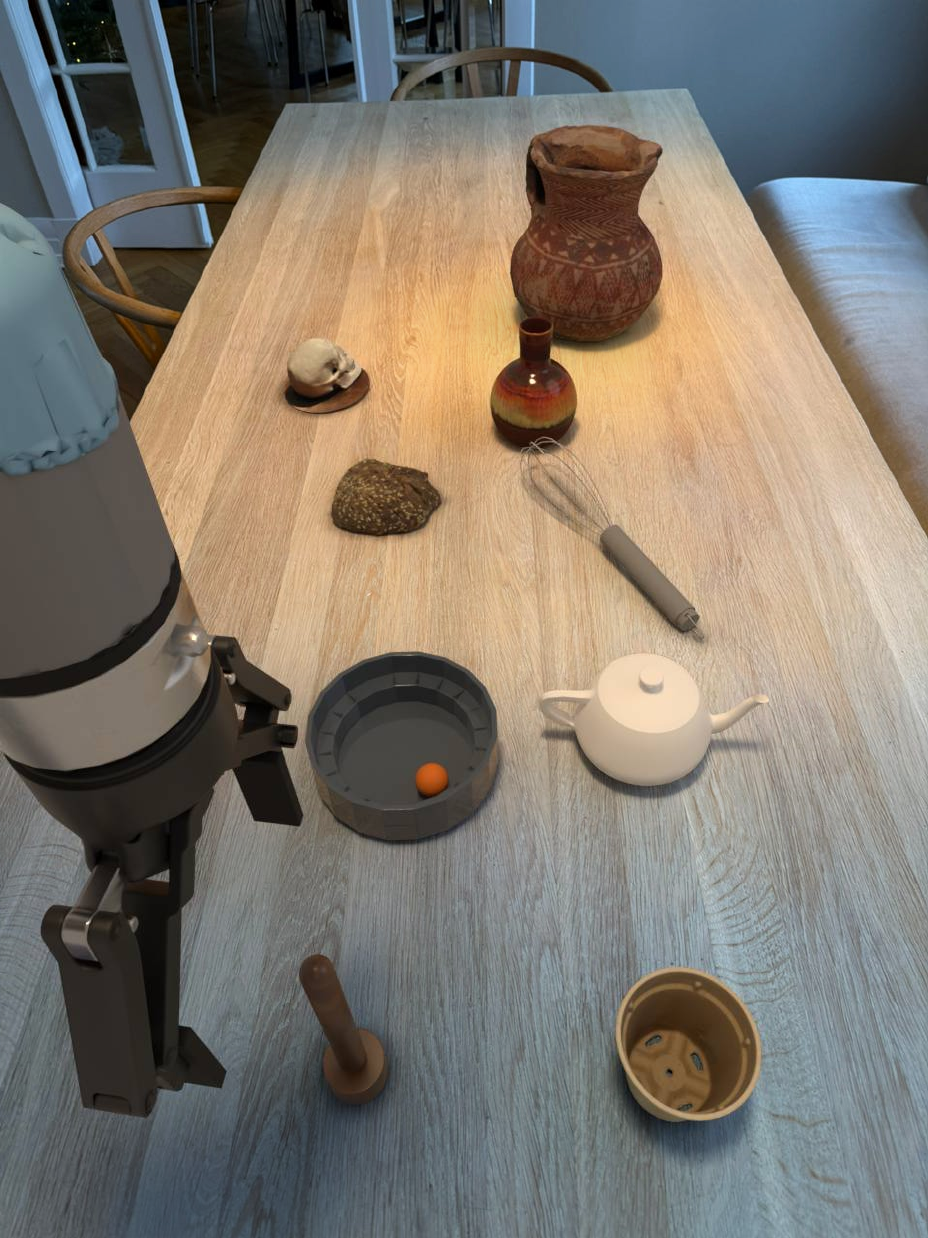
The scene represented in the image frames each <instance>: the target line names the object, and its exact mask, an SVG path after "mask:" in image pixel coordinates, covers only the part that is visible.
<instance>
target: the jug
mask: <svg viewBox="0 0 928 1238" xmlns="http://www.w3.org/2000/svg"><path fill="white" fill-rule="evenodd" d="M663 151H664V149H663V147H662V146H661V144H659V143H658V142H654V141H651V140H647V139H643V138H639V137H638V136H637V135H635V134H633V133H631V132H629V131H627V130H625V129H622V128H620V127H615V126H606V125H592V124H585V125H579V126H577V125H564V126H559V127H556V128H553V129H550V130H548V131H546V132H545V131H544V132H543V133H539V134H535V135H534V136H533V137H532V139H531V140H530V142H529V145H528V147H527V153H526V155H525V156H526V157H525V158H526V159H525V183H526V184H525V194H526V198H527V201H528V204H529V206H530V211H531V212H530V220H529V224H528V226H527V227H526V229H525V231H524V232H523V233H522V234H521V236H520V237H519V238H518V239H517V241H516V243H515V245H514V247H513V249H512V253H511V257H510V265H509V267H510V268H509V275H510V280H511V285H512V290H513V295H514V298H515V299H516V301H517V302H518V305H519V306H520V308H521V310H522V311H523V312H524V315H526V316H527V317H526V318H528V317H544V318H547V319H549V320H550V321H551V322H552V323H553V334H552V337H556V338H561V339H565V340H571V341H575V342H596V341H597V342H598V341H604V340H607V339H611V338H614V337H616V336H617V335H621V334H622V333H624V332H625V331H627V330H628V329H629V328H630V327H632V326H633V325H634V324H635V323H636V322H637V321H638V320H639V319H640V318H642V316H643V315H644V313H645V312H646V311H647V310H648V309H649V307H650V306H651V304H653V301H655V300H654V299H655V298H656V296H657V295H658V292H659V291H660V286H661V284H662V280H663V274H664V273H663V272H664V271H663V260H662V255H661V252H660V249H659V246H658V243H657V241H656V238H655V236H654V234H653V233H652V232H651V230H650V228H649V227H648V226H647V225H646V224H645V222H644V221H643V220H642V218H641V217H640V215H639V205H640V201H641V197H642V194H643V191H644V189H645V187H646V185H647V183H648V182H649V180H650V178H651V177H652V176H653V174H654V173H655V171H656V170H657V168H658V165H659V163H658V161H659V160H660V157H661V156H662V155H663V153H664V152H663Z"/></svg>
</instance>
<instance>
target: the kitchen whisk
mask: <svg viewBox="0 0 928 1238" xmlns="http://www.w3.org/2000/svg"><path fill="white" fill-rule="evenodd" d="M542 438H547V437H542ZM542 438H539V439H537V440H540V439H542ZM547 439H551V438H547ZM537 440H536V441H535V443H536V442H537ZM551 440H552V441H546V442H540V443H547V442H553V441H554V440H553V439H551ZM531 443H532V444H533V446H531ZM535 443H533V442H530V446H531V447H526V448H521V450H520V452H519V453H520V454H519V455H520V457H521V459H520V462H519V468H520V474H521V476H522V478H523V479H524V482H525V483H526V484H527V485H528V487H529V488H530V489H531V490H532V491H533V492H534V493H535V494H536V495H537V496H538V497H539V498H541V500H543V501H544V502H545V503H547V504H548V505H549V506H550V507H552V508H553V509H555V510H556V511H557V512H559V513H560V514H562V515H563V516H565V517H566V518H568V519H570V520H571V521H573V522H574V523H576V524H577V525H579V526H581V527H583V528H585V529H587V530H589V532H593V533H594V534H596V535H598V536H599V541H600V543H601V544H602V545H603V546H604V547H605V548H606V550H607V551H608V552H609V553H610V554H611V555H612V556H613V558H615V560H616V561H617V562H618V563H619V565H620V566H621V567H622V568H623V569H624V570H625V571H626V572H627V573H628V574H629V575H630V576H631V578H632V579H634V581H635V582H636V583H637V584H638V586H640V587H641V588H642V590H643V591H644V592H645V593H646V594H647V595H648V597H649V598H650V599H651V600H652V601H653V602H654V603H655V605H657V607H658V608H659V609H660V610H661V611H662V612H663V613H664V614H665V616H667V618H668V619H669V620H670V622H672V623H673V625H675V626H676V627H678V628H680V629H681V631H685V632H686V631H688V630H690V629H691V630H692V631H693V632H694V633H695V634H697V636H699V638H701V639H702V640H704V639H705V635H704V633H703V631H702V630H701V629H700V627H699V626H698V625H697V624H698V622H699V620H700V618H701V617H700V615H699V614H698V612H697V611H696V607H695V606H694V605H693V604H692V603H691V602H690V601H689V600H688V599H687V598H686V597H685V595H684V594H683V593H681V591H680V590H679V589H678V588H677V587H676V586H675V585H674V583H673V582H671V581H670V580H669V579H668V577H667V576H666V575H665V574H664V573H663V572H662V571H661V570H660V569H659V568H658V567H657V566H656V564H655V563H654V562H653V561H652V560H651V559H650V558H649V557H648V556H647V555H646V554H645V553H644V551H642V550H641V548H640V547H639V546H638V545H637V544H636V543H635V542H634V541H633V540H632V539H631V537H630V536H629V535H628V534H627V533H626V532H625V531H624V530H623V529H622V528H621V526H619V525H618V524H614V523H613V520H612V517H611V516H610V513H609V510H608V508H607V505H606V504H605V502H604V499H603V497H602V495H601V493H600V491H599V489H598V486H597V485H596V484H595V481H594V480H593V478H592V477H591V475H590V473H589V472H588V470H587V468H586V467H585V466H584V464H583V463H582V462H581V460H580V458H578V457H577V456H576V455H575V454H574V453H573V452H572V451H571V450H570V449H569V448H567V447H566V446H564V445H563V444H562V443H559V442H556V441H554V442H553V443H555V444H556V445H558V446H559V447H560V448H561V449H562V451H564V453H566V454H567V456H568V457H569V458H570V459H571V461H572V462H573V464H574V465H575V467H576V468H577V469H578V471H579V472H580V474H581V475H582V477H583V479H584V480H585V482H586V484H587V486H588V487H589V489H590V490H589V489H588V487H587V486H586V485H585V482H583V480H582V479H581V478H580V477H579V476H578V475H577V474H576V472H575V471H574V470H573V469H572V468H571V467H570V465H568V464H567V463H566V462H565V461H563V460H562V459H561V458H560V457H559V456H557V455H556V454H554V453H552V452H551V451H549V450H547V449H545V448H539V447H538V446H537V445H538V444H540V443H538V444H536V445H535ZM555 444H554V445H555ZM534 446H536V447H537V448H536V447H534ZM527 448H529V449H527ZM532 448H536V449H535V450H539V451H540V452H541V453H542V455H544V456H545V457H546V459H547V460H548V461H549V462H550V463H551V464H552V465H553V466H554V467H555V469H556V470H557V471H558V472H559V473H560V475H561V476H562V477H563V478H564V479H565V481H566V482H567V483H568V484H569V485H570V486H571V488H572V489H573V490H574V491H575V493H577V495H578V496H579V497H580V499H582V501H583V502H584V503H585V504H586V506H587V507H588V508H589V510H590V511H591V512H592V513H593V514H594V516H595V517H596V518H597V519H598V521H599V522H600V523H601V524H602V526H603V527H604V528H605V529H603V528H602V527H601V526H600V525H599V524H598V523H597V522H596V521H595V520H594V519H593V518H592V517H591V516H590V515H588V513H587V512H585V511H584V510H583V509H582V507H580V506H579V504H577V502H575V500H574V499H573V498H572V497H571V496H570V495H568V493H567V492H566V491H565V490H564V489H563V488H562V487H561V486H560V484H559V483H558V482H557V481H556V480H555V479H554V478H553V477H552V475H551V474H550V472H548V470H547V468H546V467H545V466H544V465H543V464H542V462H541V461H540V459H539V458H538V456H537V455H536V453H535V451H534V449H532ZM526 449H527V450H526ZM524 450H526V452H524V453H523V454H522V452H523V451H524ZM567 451H568V452H570V454H571V455H572V456H573V457H574V458H575V459H576V460H577V461H578V462H579V464H580V465H581V467H582V468H583V469H584V471H585V472H586V474H587V475H588V478H589V479H590V480H591V482H592V484H593V486H594V488H595V490H596V491H597V493H598V496H599V498H600V500H601V502H602V504H603V506H604V509H605V510H604V509H603V506H602V505H601V502H600V501H599V498H598V497H597V495H596V493H595V492H594V489H593V488H592V486H591V485H590V483H589V481H588V480H587V478H586V476H585V475H584V472H582V470H581V469H580V467H579V466H578V464H577V463H576V461H575V460H574V459H573V458H572V456H571V455H570V454H569V453H568V452H567ZM528 452H529V453H528ZM545 452H546V453H549V454H550V455H552V456H553V457H555V458H557V459H558V460H559V461H560V462H561V463H563V464H564V465H565V467H567V468H568V469H569V470H570V471H571V472H572V473H573V474H574V475H575V477H576V478H577V479H578V480H579V481H580V483H581V485H583V487H584V488H585V489H586V491H587V492H588V493H589V494H590V496H591V498H592V500H593V501H594V503H595V505H596V506H597V507H598V509H599V511H600V512H601V514H602V515H603V518H604V520H605V521H606V523H607V525H608V527H607V525H605V524H604V522H603V521H602V520H601V518H600V517H599V516H598V515H597V514H596V512H595V510H593V508H592V507H591V506H590V505H589V504H588V502H587V501H586V500H585V499H584V497H582V494H580V493H579V492H578V490H577V489H576V488H575V487H574V486H573V484H572V483H571V482H570V481H569V480H568V478H567V477H566V476H565V475H564V474H563V472H562V471H561V470H560V469H559V468H558V466H557V465H555V463H554V462H553V461H552V460H551V459H550V458H549V457H548V455H547V454H546V453H545ZM527 453H528V457H527V462H526V461H525V460H524V456H525V455H526V454H527ZM531 453H533V455H534V457H535V458H536V460H537V462H538V463H539V464H540V466H541V467H542V469H543V470H544V471H545V472H546V474H547V475H548V476H549V477H550V478H551V480H552V481H553V482H554V483H555V484H556V485H557V486H558V488H559V489H560V490H561V491H562V492H563V493H564V494H565V495H566V497H568V498H569V499H570V501H571V502H572V503H573V504H574V505H575V506H576V507H578V509H580V510H581V512H583V514H585V515H586V516H587V518H589V520H588V519H587V518H586V517H585V516H583V515H582V514H580V513H579V512H578V511H577V510H576V509H575V508H574V507H572V506H571V505H569V504H568V503H567V502H566V501H565V500H564V499H563V498H561V497H560V496H559V495H558V494H557V493H556V492H554V490H552V489H551V488H550V487H549V486H548V485H547V484H546V483H545V482H544V481H543V480H542V479H541V478H539V476H537V474H536V473H535V472H534V471H533V469H531V468H530V457H531ZM522 462H523V463H524V465H525V466H526V467H527V469H528V472H529V475H530V477H531V480H532V482H533V483H534V485H535V486H536V487H537V490H538V491H539V492H540V493H541V494H542V495H540V494H539V493H538V492H537V491H536V490H535V489H534V488H533V486H532V485H531V484H530V483H529V482H528V480H527V479H526V477H525V475H524V474H523V473H524V472H523V468H522ZM532 474H533V475H534V476H535V478H537V479H538V481H540V482H541V483H542V485H544V487H546V488H547V489H548V490H549V491H550V492H551V493H553V494H554V496H556V497H557V498H558V499H559V500H561V501H562V502H563V503H564V504H565V505H567V507H569V508H570V509H571V510H572V511H574V512H575V513H576V514H577V515H578V516H580V517H581V518H582V519H583V520H585V521H586V522H588V524H590V525H591V526H593V527H594V528H595V529H596V530H598V531H599V532H601V534H600V533H598V532H597V531H595V530H594V529H591V528H589V526H586V525H584V524H583V523H581V522H580V521H578V520H577V519H575V518H573V517H572V516H571V515H570V514H568V513H566V512H565V511H564V510H562V509H561V508H560V507H558V506H557V504H555V503H554V502H553V501H552V500H551V499H550V498H548V497H547V496H546V494H545V493H544V492H543V491H542V490H541V489H540V488H539V486H538V485H537V483H536V481H535V480H534V478H533V477H534V476H533V475H532ZM590 491H591V492H592V493H591V492H590ZM543 496H544V498H543ZM605 511H606V512H605ZM590 520H591V521H592V522H593V523H592V522H591V521H590ZM694 626H695V627H696V629H697V630H698V631H699V632H698V631H696V629H694ZM699 633H700V634H699Z"/></svg>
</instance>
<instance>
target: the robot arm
mask: <svg viewBox="0 0 928 1238" xmlns="http://www.w3.org/2000/svg"><path fill="white" fill-rule="evenodd" d="M240 645H241V644H240V643H239V641H238V639H237V638H236V636H228V635H218V634H208V632H207V630H206V628H205V626H204V623H203V620H202V619H201V615H200V612H199V611H198V608H197V606H196V603H195V601H194V598H193V596H192V593H191V591H190V588H189V586H188V583H187V581H186V578H185V576H184V573H183V570H182V568H181V563H180V558H179V554H178V553H177V550H176V548H175V545H174V543H173V540H172V538H171V534H170V532H169V529H168V526H167V524H166V521H165V517H164V515H163V512H162V509H161V507H160V504H159V501H158V499H157V496H156V492H155V490H154V486H153V485H152V481H151V479H150V476H149V473H148V470H147V467H146V465H145V461H144V459H143V456H142V453H141V451H140V448H139V444H138V442H137V439H136V437H135V433H134V431H133V428H132V425H131V423H130V419H129V416H128V414H127V411H126V408H125V406H124V402H123V400H122V396H121V394H120V388H119V383H118V380H117V377H116V374H115V371H114V368H113V366H112V365H111V363H110V362H109V361H108V360H106V358H104V357H103V355H102V353H101V351H100V350H99V347H98V346H97V343H96V341H95V339H94V337H93V334H92V332H91V330H90V328H89V326H88V324H87V321H86V319H85V317H84V314H83V312H82V310H81V308H80V306H79V304H78V301H77V299H76V297H75V295H74V292H73V290H72V288H71V286H70V283H69V281H68V279H67V277H66V274H65V272H64V271H63V268H62V266H61V264H60V262H59V259H58V256H57V255H56V253H55V250H54V248H53V247H52V245H51V244H50V242H49V241H48V239H46V237H45V235H44V234H42V232H41V231H40V230H39V229H38V228H37V227H36V226H35V225H34V224H33V223H32V222H31V221H29V219H27V218H25V217H24V216H23V215H22V214H20V213H18V212H17V211H15V210H14V209H12V208H11V207H9V206H7V205H5V204H4V203H1V202H0V751H1V752H2V753H3V756H4V758H5V759H6V760H7V762H8V764H9V765H10V766H11V768H12V769H13V770H14V771H15V773H16V774H17V776H18V777H19V778H20V779H21V781H22V782H23V783H24V785H25V786H26V787H27V788H28V790H29V791H30V793H31V794H32V795H33V797H34V798H35V800H37V802H38V803H39V804H40V805H41V807H42V808H43V809H44V810H45V811H46V812H47V813H48V814H49V815H50V816H51V817H52V818H53V819H55V820H56V821H57V822H59V823H60V824H61V825H62V826H64V827H65V828H67V829H68V830H69V831H71V832H72V833H73V834H75V835H76V836H77V837H78V838H80V840H81V843H82V846H83V851H84V859H85V860H84V861H85V865H86V867H87V869H88V871H89V872H90V874H89V877H88V879H87V880H86V882H85V885H84V886H83V888H82V890H81V892H80V894H79V896H78V898H77V899H76V900H75V903H74V905H73V906H70V905H63V904H57V903H56V904H52V905H51V906H49V907H48V909H47V910H46V911H45V913H44V915H43V916H42V920H41V924H40V936H41V940H42V941H43V943H44V944H45V946H46V947H47V948H48V950H49V952H50V953H51V954H52V956H53V958H54V959H55V961H56V962H57V964H58V971H59V976H60V981H61V988H62V993H63V999H64V1005H65V1009H66V1010H65V1012H66V1018H67V1023H68V1029H69V1034H70V1040H71V1046H72V1051H73V1058H74V1063H75V1068H76V1074H77V1081H78V1086H79V1093H80V1099H81V1104H82V1107H83V1109H89V1110H94V1111H99V1112H105V1113H111V1114H117V1115H122V1116H123V1115H124V1116H130V1117H136V1118H142V1119H147V1118H149V1116H150V1115H151V1114H152V1112H153V1109H154V1108H155V1105H156V1103H157V1100H158V1089H159V1090H164V1091H170V1092H176V1093H177V1092H180V1091H182V1090H183V1088H184V1085H185V1084H190V1085H196V1086H202V1087H209V1088H215V1089H220V1090H221V1089H223V1086H224V1083H225V1079H226V1076H227V1073H228V1070H227V1069H226V1068H225V1067H224V1066H223V1064H222V1063H221V1062H220V1061H219V1060H218V1058H217V1057H216V1056H215V1054H214V1053H213V1052H212V1051H211V1050H210V1049H209V1047H208V1046H207V1045H206V1044H205V1043H204V1042H203V1040H202V1039H201V1038H200V1036H199V1035H198V1033H196V1031H194V1029H193V1027H191V1026H187V1025H180V999H181V997H180V996H181V995H180V994H181V993H180V992H181V991H180V990H181V960H182V959H181V956H182V955H181V953H182V915H183V908H185V906H186V905H187V904H188V903H189V902H190V901H191V900H192V899H193V897H194V895H195V885H196V881H195V880H196V879H195V878H196V850H197V849H196V847H197V845H196V844H197V842H198V840H199V839H200V838H201V836H202V835H203V834H202V833H203V818H204V816H205V815H206V814H207V811H208V809H209V807H210V804H211V802H212V799H213V796H214V794H215V789H214V786H216V785H217V783H218V782H219V780H220V779H221V777H222V776H224V775H225V772H228V771H231V770H232V772H233V774H234V777H235V779H236V781H237V783H238V786H239V788H240V791H241V793H242V795H243V798H244V801H245V802H246V805H247V808H248V810H249V812H250V814H251V817H252V819H253V821H254V822H259V823H265V824H266V823H267V824H274V825H282V826H290V827H291V826H292V827H299V828H301V826H302V821H303V818H304V813H303V809H302V806H301V802H300V800H299V797H298V795H297V791H296V788H295V785H294V782H293V778H292V775H291V773H290V769H289V767H288V764H287V760H286V757H285V754H284V751H283V748H286V749H295V748H296V745H297V744H298V743H297V742H298V738H299V728H298V725H296V724H289V723H278V721H279V715H280V712H288V711H289V709H290V706H291V704H292V700H293V699H292V698H293V695H292V692H291V689H290V688H289V687H288V686H286V685H285V684H283V683H281V682H280V681H279V680H277V679H275V677H272V676H271V675H269V674H268V673H266V672H265V671H264V670H262V669H261V668H259V667H258V666H256V665H255V664H253V663H252V662H250V661H249V660H247V659H246V656H245V654H244V652H243V650H242V647H241V646H240ZM236 705H237V706H239V707H240V708H245V709H244V713H243V717H242V719H239V716H238V710H237V706H236ZM166 871H168V881H163V880H156V879H149V878H151V877H155V876H156V875H159V874H161V873H164V872H166Z"/></svg>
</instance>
